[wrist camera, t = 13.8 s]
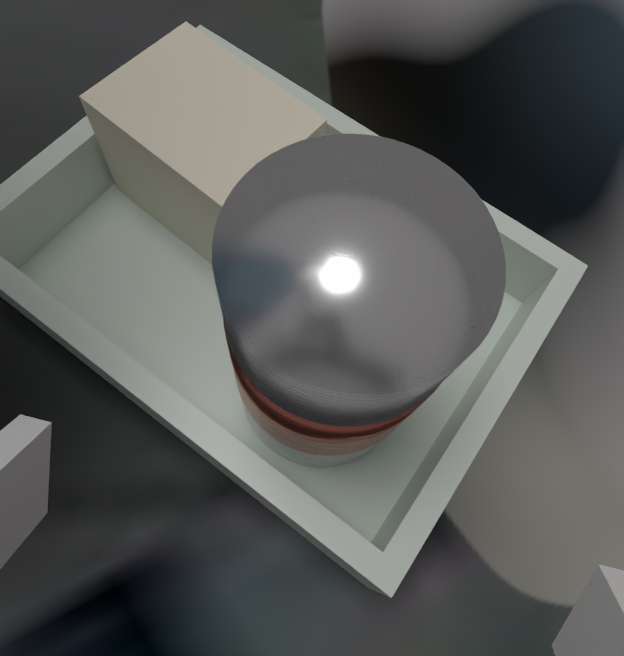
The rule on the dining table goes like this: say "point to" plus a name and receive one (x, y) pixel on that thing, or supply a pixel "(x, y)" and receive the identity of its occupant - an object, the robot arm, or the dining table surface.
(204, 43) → the beige rectangular block
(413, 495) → the tote
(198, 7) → the dining table surface
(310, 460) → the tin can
